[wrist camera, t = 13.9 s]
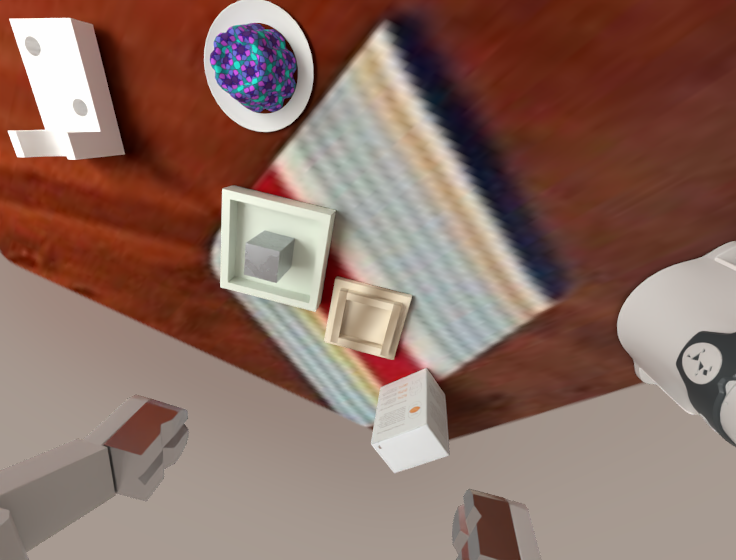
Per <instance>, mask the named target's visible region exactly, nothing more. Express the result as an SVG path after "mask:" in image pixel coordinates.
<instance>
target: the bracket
mask: <svg viewBox="0 0 736 560" xmlns="http://www.w3.org/2000/svg"><path fill="white" fill-rule="evenodd" d="M9 20H10V23H11V26H12V29H13V32H14V35H15V38H16V41H17V44H18V47H19V50H20V53H21V56H22V59H23V63H24V66H25V69H26V72H27V75H28V78H29V81H30V84H31V87H32V90H33V93H34V96H35V99H36V102H37V105H38V108H39V111H40V114H41V117H42V121H43V124H44V127H45V130H17V131H8V133H9V136H10V138H11V141H12V144H13V147H14V149H15V152H16V155H17V157H40V156H67V159H71V160H78V159H87V158H96V157H105V156H115V155H124V154H125V152H124V148H123V144H122V140H121V136H120V132H119V128H118V124H117V120H116V116H115V112H114V108H113V104H112V100H111V96H110V92H109V88H108V84H107V80H106V76H105V72H104V68H103V64H102V60H101V56H100V52H99V48H98V44H97V40H96V36H95V32H94V28H93V24H89V23H86V22H82V21H79V20H75V19H72V18H37V19H9Z"/></svg>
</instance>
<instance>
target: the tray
mask: <svg viewBox="0 0 736 560" xmlns="http://www.w3.org/2000/svg"><path fill="white" fill-rule="evenodd" d="M335 214H336V210H333V209H329V208H325V207H321V206H317V205H313V204H309V203H305V202H300V201H296V200H292V199H288V198H284V197H280V196H276V195H272V194H267V193H263V192H259V191H255V190H251V189H247V188H243V187H239V186H234V185H232V186H229V187H226V188H223V189H222V225H221V274H220V287H222V288H225V289H229V290H233V291H237V292H241V293H245V294H249V295H252V296H256V297H260V298H264V299H268V300H272V301H276V302H279V303H283V304H287V305H291V306H295V307H299V308H303V309H306V310H310V311H314V312H316V310H317V308H318V307H319V305H320V303H321V299H322V292H323V286H324V280H325V274H326V268H327V262H328V256H329V250H330V244H331V238H332V232H333V226H334V220H335ZM264 230H265V231H269V232H273V233H276V234H280V235H284V236H288V237H292V238H295V242H294V250H293V258H292V266H291V268H290V269H289V270H288V271H287V272H286V273H285V274H284V276H283V277H282V278H281V279H280V280H279V281H278V282H277V283H274V282H270V281H267V280H263V279H259V278H255V277H251V276H248V275H244V263H245V247H246V242H248V241H249V240H251V239H252V238H254V237H255V236H257V235H258V234H260V233H261V232H263V231H264Z"/></svg>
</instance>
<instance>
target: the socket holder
mask: <svg viewBox="0 0 736 560" xmlns="http://www.w3.org/2000/svg"><path fill="white" fill-rule="evenodd" d="M411 299H412V295H409V294H405V293H401V292H397V291H393V290H390V289H386V288H382V287H378V286H374V285H370V284H366V283H362V282H358V281H354V280H350V279H346V278H342V277H338V276H337V277H336V278H335V283H334V289H333V294H332V300H331V305H330V311H329V317H328V322H327V328H326V333H325V339H324V342H327V343H331V344H335V345H338V346H342V347H346V348H350V349H354V350H357V351H361V352H365V353H369V354H372V355H376V356H380V357H384V358H388V359H391V360H394V357H395V353H396V350H397V346H398V343H399V340H400V336H401V333H402V329H403V326H404V322H405V319H406V316H407V312H408V309H409V305H410V302H411Z"/></svg>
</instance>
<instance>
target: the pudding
mask: <svg viewBox="0 0 736 560" xmlns="http://www.w3.org/2000/svg"><path fill="white" fill-rule="evenodd" d="M249 23H253V24H249ZM254 23H263V24H267V25H269V26H271V27H273V28H275V29H276V30H278V31H279V32H280V33H281V34H282V35H283V36H284V37H285V38H286V39H287V41H288V42H289V44H290V45H291V47H292V49H293V51H294V54H295V57H296V59H295V57H294V55H293V53H292V52H291V51H289V50H288V49H286V45H285V39H284V38H283V36H282V35H281V34H280V33H279V32H277V31H275V30H274V29H272V30H265V29H264V28H263V27H262V26H261V25H259V24H254ZM296 61H297V67H298V80H297V86H296V89H295V85H296V83H295V80H294V77H293V74H294V72H295V70H296ZM204 65H205V73H206V77H207V81H208V85H209V87H210V90H211V92H212V94H213V96H214V98H215V100H216V101H217V103H218V105H219V106H220V107H221V108H222V110H223V111H224V112H225V113H226V114H227V115H228V116H229V117H230V118H231V119H232V120H233V121H235V122H236V123H238V124H239V125H241V126H243V127H245V128H247V129H250V130H254V131H257V132H271V131H277V130H279V129H282V128H285V127H286V126H288V125H290V124H291V123H292V122H293V121H295V120H296V119H297V118H298V117H299V115H300V114H301V113H302V111H303V110H304V108H305V106H306V104H307V102H308V100H309V98H310V94H311V91H312V86H313V79H314V76H313V61H312V54H311V51H310V48H309V45H308V42H307V40H306V38H305V36H304V33H303V32H302V30H301V29H300V27H299V26H298V24H297V23H296V21H295V20H294V19H293V18H292V17H291V16H290V15H289V14H288V13H287V12H285V11H284V10H283V9H281V8H280V7H279V6H277V5H275V4H272V3H270V2H268V1H264V0H241V1H238V2H236V3H233V4H231V5H229V6H228V7H227V8H226V9H224V10H223V11H222V12H221V13H220V14H219V15H218V17H217V18H216V19H215V20H214V22H213V24H212V26H211V28H210V30H209V33H208V36H207V38H206V44H205V49H204ZM294 91H295V92H294ZM293 93H294V94H293ZM292 94H293V96H292ZM291 96H292V98H291V99H290V101H289V102H288V103H287V104H286V105H285V106H284V107H283V108H281V107H282V106H283V102H284V99H286V98H289V97H291ZM239 102H240V103H241V104H243V105H244V106H246V107H247V108H248V109H247V108H245V107H244V106H242V105H241V104H240V103H239ZM280 108H281V109H280ZM249 109H250V110H249ZM264 109H267V110H269V111H271V112H273V113H268V114H261V113H256V112H261V111H262V110H264ZM279 109H280V110H279ZM251 110H252V111H251ZM274 111H276V112H274Z"/></svg>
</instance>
